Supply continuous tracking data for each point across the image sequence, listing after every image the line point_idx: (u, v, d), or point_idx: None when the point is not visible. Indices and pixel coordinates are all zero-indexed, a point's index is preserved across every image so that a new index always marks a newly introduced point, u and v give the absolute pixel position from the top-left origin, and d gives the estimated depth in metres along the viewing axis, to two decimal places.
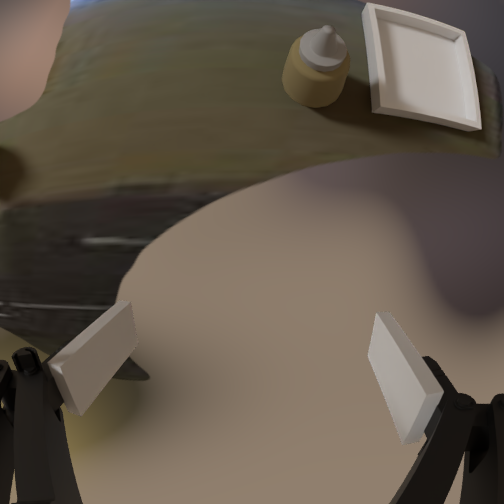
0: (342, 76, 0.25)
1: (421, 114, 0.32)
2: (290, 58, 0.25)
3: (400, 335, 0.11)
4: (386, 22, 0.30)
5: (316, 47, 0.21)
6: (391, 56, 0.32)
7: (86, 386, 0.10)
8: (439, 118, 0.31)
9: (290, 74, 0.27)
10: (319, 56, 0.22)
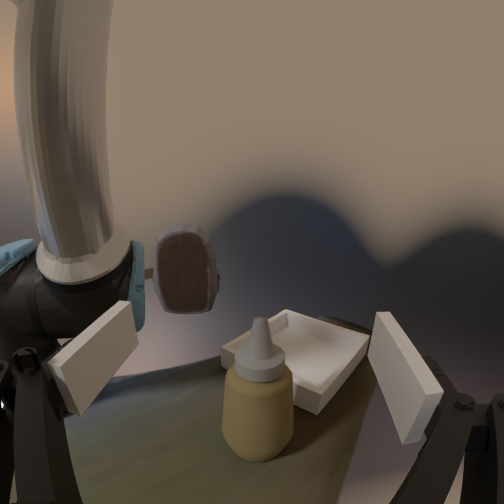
0: (291, 373, 0.26)
1: (342, 371, 0.38)
2: (240, 394, 0.24)
3: (400, 335, 0.11)
4: None
5: (260, 351, 0.24)
6: None
7: (86, 386, 0.10)
8: (351, 361, 0.40)
9: (249, 416, 0.24)
10: (268, 360, 0.24)
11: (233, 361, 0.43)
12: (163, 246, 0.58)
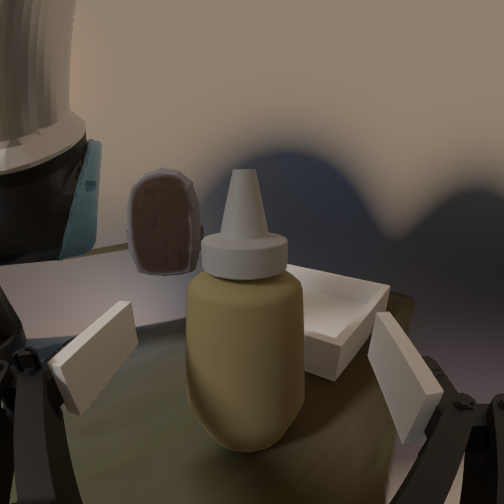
0: (299, 281, 0.17)
1: (364, 321, 0.28)
2: (208, 305, 0.14)
3: (400, 335, 0.11)
4: None
5: (243, 222, 0.14)
6: None
7: (86, 386, 0.10)
8: (373, 310, 0.31)
9: (226, 353, 0.14)
10: (257, 239, 0.14)
11: None
12: (138, 192, 0.48)
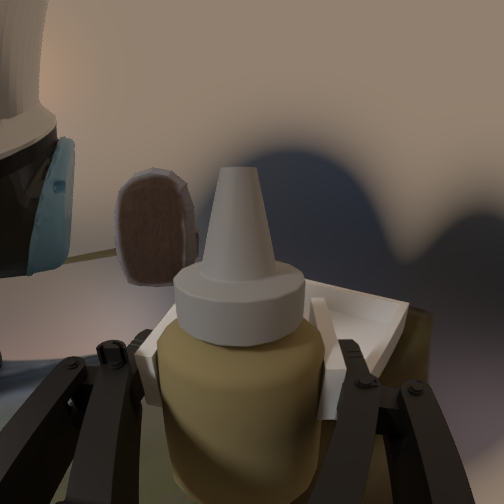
0: (319, 332, 0.11)
1: (384, 351, 0.23)
2: (183, 381, 0.08)
3: (324, 318, 0.13)
4: None
5: (237, 253, 0.09)
6: None
7: None
8: (393, 335, 0.25)
9: (213, 442, 0.08)
10: (259, 280, 0.09)
11: None
12: (126, 194, 0.42)
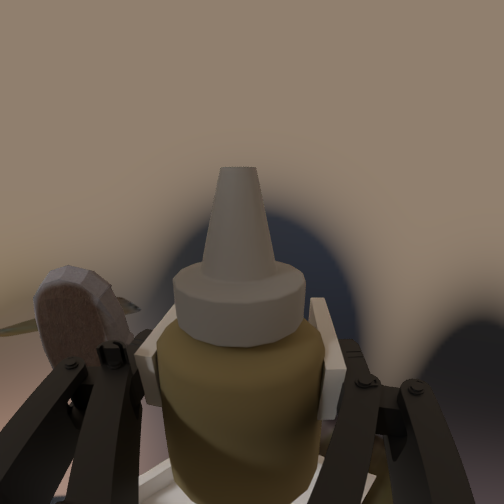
0: (319, 333, 0.11)
1: None
2: (183, 382, 0.08)
3: (324, 318, 0.13)
4: (152, 499, 0.19)
5: (236, 253, 0.09)
6: None
7: None
8: None
9: (213, 443, 0.08)
10: (259, 281, 0.09)
11: None
12: (41, 303, 0.30)
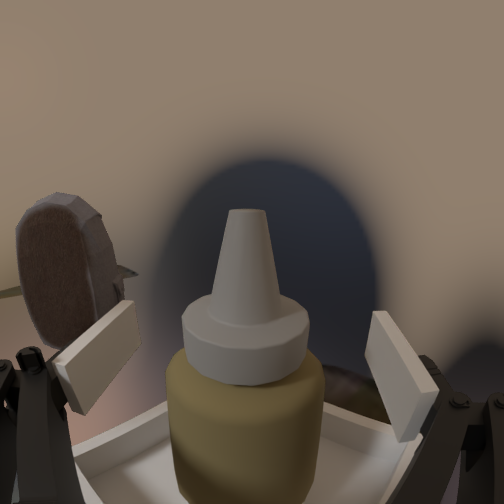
0: (320, 364, 0.11)
1: None
2: (192, 414, 0.09)
3: (396, 334, 0.11)
4: (120, 469, 0.15)
5: (245, 298, 0.09)
6: None
7: (90, 385, 0.10)
8: None
9: (220, 466, 0.09)
10: (266, 324, 0.09)
11: None
12: (23, 233, 0.26)
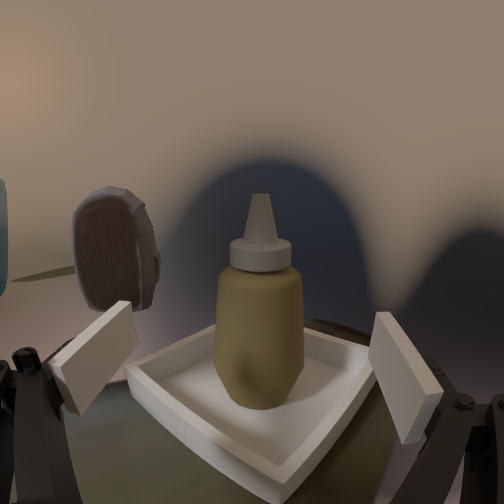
0: (299, 274, 0.23)
1: (334, 426, 0.18)
2: (236, 289, 0.20)
3: (400, 335, 0.11)
4: (168, 380, 0.26)
5: (260, 231, 0.21)
6: (213, 415, 0.22)
7: (86, 386, 0.10)
8: (352, 402, 0.20)
9: (248, 323, 0.20)
10: (270, 243, 0.21)
11: (141, 392, 0.22)
12: (80, 217, 0.37)
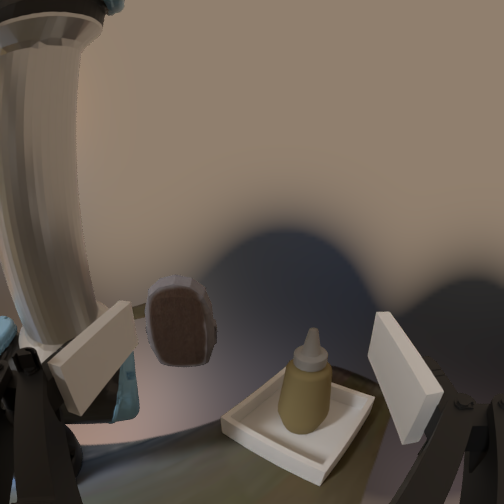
0: (330, 365, 0.38)
1: (346, 443, 0.33)
2: (299, 381, 0.35)
3: (400, 335, 0.11)
4: (244, 420, 0.41)
5: (313, 351, 0.36)
6: (278, 439, 0.37)
7: (86, 386, 0.10)
8: (355, 429, 0.35)
9: (304, 396, 0.35)
10: (317, 356, 0.36)
11: (234, 431, 0.37)
12: (155, 300, 0.52)
